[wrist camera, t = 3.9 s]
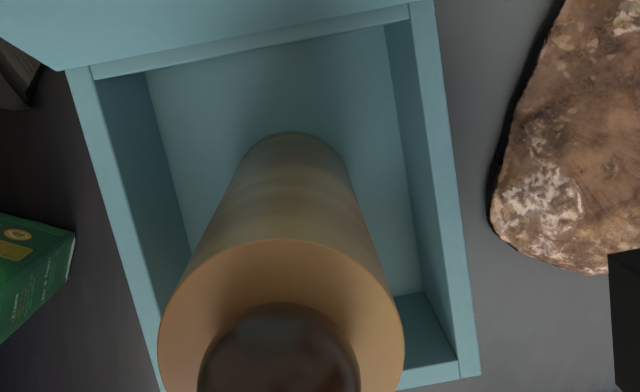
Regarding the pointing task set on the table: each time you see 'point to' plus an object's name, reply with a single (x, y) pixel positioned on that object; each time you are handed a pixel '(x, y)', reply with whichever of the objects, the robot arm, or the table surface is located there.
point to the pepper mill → (283, 285)
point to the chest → (302, 116)
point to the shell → (574, 142)
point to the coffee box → (30, 267)
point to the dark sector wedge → (17, 77)
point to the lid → (150, 24)
